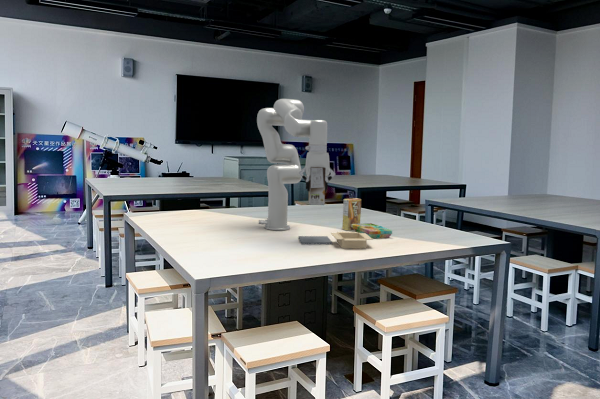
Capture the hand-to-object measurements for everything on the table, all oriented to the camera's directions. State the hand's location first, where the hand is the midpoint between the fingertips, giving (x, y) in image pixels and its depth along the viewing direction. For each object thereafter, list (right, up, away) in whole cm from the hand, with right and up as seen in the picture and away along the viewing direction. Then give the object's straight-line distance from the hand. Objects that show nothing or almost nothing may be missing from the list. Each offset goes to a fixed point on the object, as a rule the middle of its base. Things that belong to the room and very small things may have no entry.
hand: (316, 190), depth 214 cm
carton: (+14, -23, -3) cm, 27 cm away
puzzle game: (+26, -21, +23) cm, 40 cm away
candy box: (+19, -19, +36) cm, 44 cm away
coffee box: (0, -6, +1) cm, 6 cm away
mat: (-1, -22, +3) cm, 22 cm away
